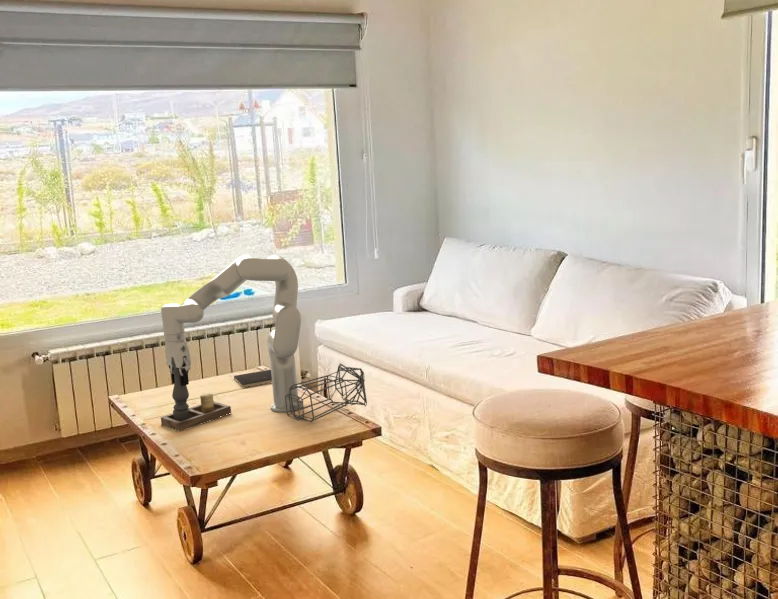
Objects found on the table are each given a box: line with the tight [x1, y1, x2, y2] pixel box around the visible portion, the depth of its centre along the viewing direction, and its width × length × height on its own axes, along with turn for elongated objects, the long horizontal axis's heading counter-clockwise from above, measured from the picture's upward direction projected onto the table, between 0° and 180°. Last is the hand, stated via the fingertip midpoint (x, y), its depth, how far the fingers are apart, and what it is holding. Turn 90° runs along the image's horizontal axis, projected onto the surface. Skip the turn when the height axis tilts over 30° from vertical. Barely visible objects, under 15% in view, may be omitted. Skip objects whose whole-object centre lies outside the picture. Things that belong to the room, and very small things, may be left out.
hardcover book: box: [233, 369, 272, 388], centre depth 381 cm, size 16×23×2 cm
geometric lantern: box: [285, 363, 368, 423], centre depth 330 cm, size 16×16×35 cm
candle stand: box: [160, 393, 232, 432], centre depth 332 cm, size 12×23×8 cm, turn 136°
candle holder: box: [171, 357, 190, 421], centre depth 327 cm, size 6×6×25 cm
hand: (180, 383), depth 326 cm, fingers closed on candle holder, 4 cm apart
